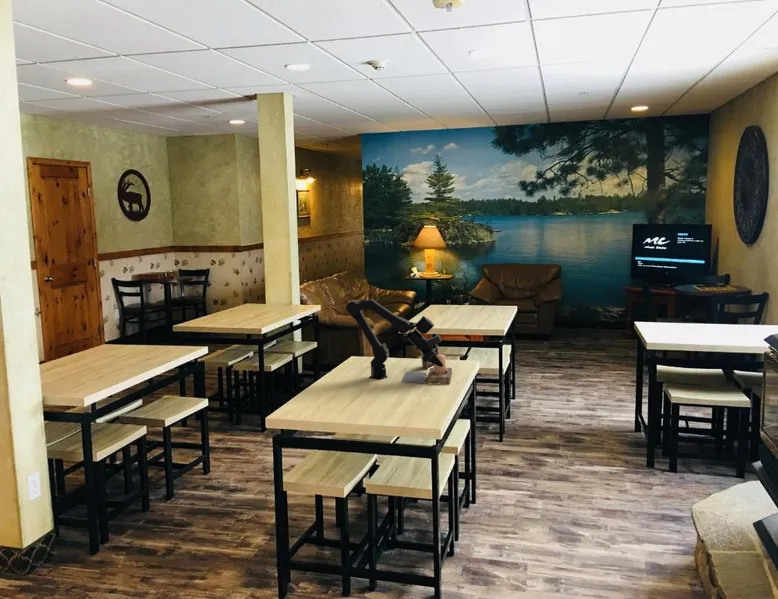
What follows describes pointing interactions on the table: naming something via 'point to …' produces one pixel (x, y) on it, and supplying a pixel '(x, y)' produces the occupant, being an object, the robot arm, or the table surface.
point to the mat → (414, 377)
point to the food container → (427, 364)
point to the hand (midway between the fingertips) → (442, 364)
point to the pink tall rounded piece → (437, 368)
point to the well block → (439, 376)
